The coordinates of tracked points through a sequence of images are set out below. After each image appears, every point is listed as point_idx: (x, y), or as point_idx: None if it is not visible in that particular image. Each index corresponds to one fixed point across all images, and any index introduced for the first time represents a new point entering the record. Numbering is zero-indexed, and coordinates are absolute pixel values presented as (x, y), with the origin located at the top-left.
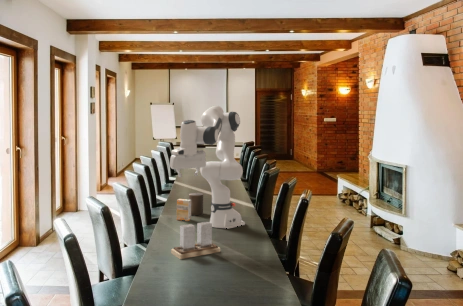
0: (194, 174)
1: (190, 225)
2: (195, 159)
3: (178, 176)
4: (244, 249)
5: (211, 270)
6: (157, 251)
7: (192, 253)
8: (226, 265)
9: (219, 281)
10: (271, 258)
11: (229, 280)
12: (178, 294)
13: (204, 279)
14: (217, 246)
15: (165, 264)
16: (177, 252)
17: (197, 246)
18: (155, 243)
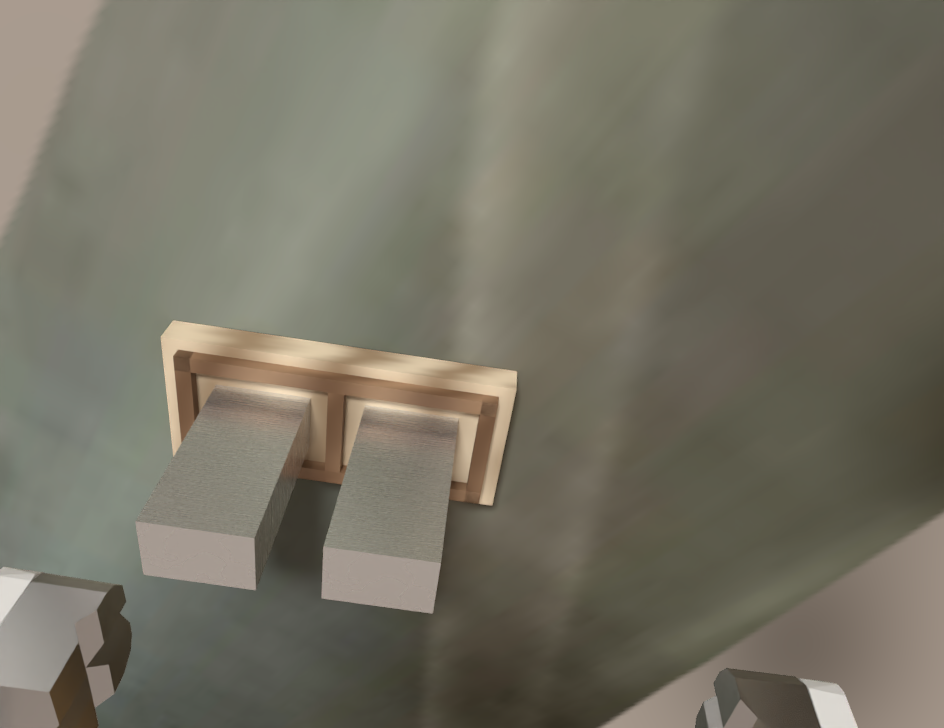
0: (735, 723)
1: (227, 562)
2: None
3: (3, 580)
4: (658, 536)
5: (268, 627)
6: (85, 228)
7: None
8: (374, 627)
9: (234, 705)
10: (645, 683)
11: (278, 718)
12: None
13: (185, 668)
14: (475, 502)
15: (67, 455)
16: (176, 416)
17: (364, 411)
18: (132, 11)
